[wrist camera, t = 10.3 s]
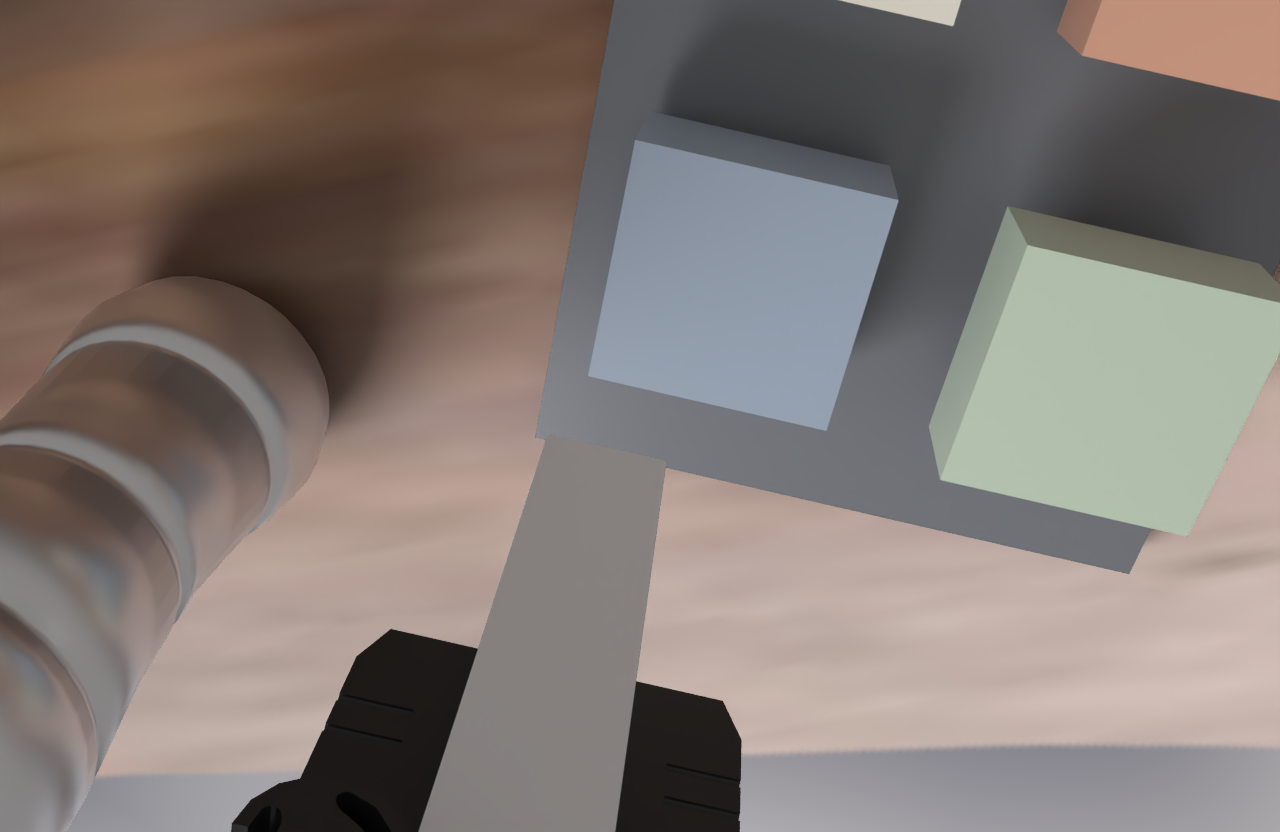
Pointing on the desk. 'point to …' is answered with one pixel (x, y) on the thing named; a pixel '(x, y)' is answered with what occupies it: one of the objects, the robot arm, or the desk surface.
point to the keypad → (905, 223)
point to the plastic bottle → (133, 510)
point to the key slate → (741, 269)
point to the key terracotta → (1183, 39)
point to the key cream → (917, 8)
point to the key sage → (1105, 371)
